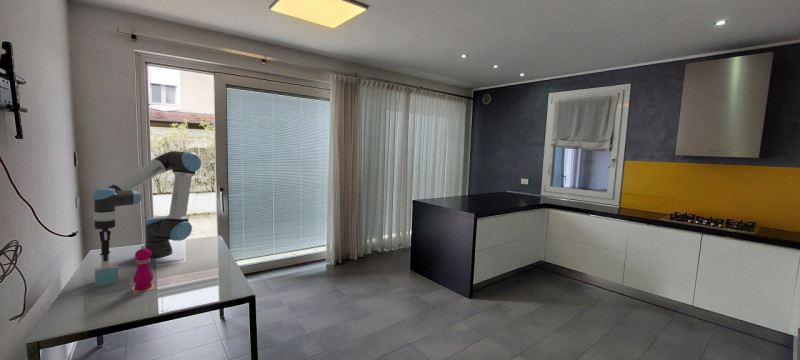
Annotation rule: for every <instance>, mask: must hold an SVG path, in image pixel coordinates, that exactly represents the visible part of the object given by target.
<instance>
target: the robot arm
mask: <svg viewBox="0 0 800 360" xmlns="http://www.w3.org/2000/svg"><path fill="white" fill-rule="evenodd" d="M201 166H202V161H201V158H200V157H199V155H198V154H197V153H195V152H192V151H178V150H177V151H175V150H174V151H173V150H172V151H168V152H165V153H162V154H161V155H159V156H156V157H154V158H153V159H151V161H150V163H148V164H146V165H145V166H143V167H141V168H139V169H138V170H136V171H134V172H132V173H130V174H129V175H127V176H125V177H124V178H121V179H119V180H118V181H117V182H115V183H113V184H111V185H109V186H108V187H105V188H104V187H100V188H96V189H95V190H94V191H93V192H94V193H93V195H92V196H93V197H92V198H93V210H94V213H93V214H92V216H93V219H94V220H95V221H94V229H95V230H101V231H99V232H98V233H99V239H100V243H101V244H100V247H101V250H100V254H99V256H100V257H101V268H106V267H110V253H111V251H110V240H111V235H112V234H111V233H112V232H111V230H109V229H114V228H115V227H116V207H124V206H125V207H126V206H133V205H137V204H139V203H140V202H141V201H142V193H141V192H140V191H138V190H135V189H136V188H138V187H140V186H141V185H143V184H144V183H146V182H148V181H149V180H151V179H153V178H154V177H156V176H157V175H160V174H164V173H166V172H167V171H168V172H169V171H172V174H173V175H174V180H173V187H172V193H171V194H172V195H171V201H170V208H169V214H168V215H167V216H157V217H150V218H148V219H146V220H145V225H144V227H145V229H144V233H145V236H144V238H145V243H144V246H145V247H146V248H145V249H149V250H150V251H151V253H152V254H151V257H150V259H152V258H153V259H157V258H162V257H167V256H169V255H172V254H173V247H172V244H171V243H170V241H174V242H175V241H177V242H178V241H179V242H182V241H184V240H186V239H187V238H188V237H189V236H190V235H191V233H192V230H193V226H192V224H191V223H190V222H189V220H190V219H189V216H188V215H187V213H188V207H189V205H188V204H189V199H190V193H191V185H192V184H191V183H192V178H193V177H194V176H195V175H196V172H197V171H199V170H200V169H201Z"/></svg>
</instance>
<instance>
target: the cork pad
mask: <svg viewBox="0 0 800 360" xmlns="http://www.w3.org/2000/svg"><path fill="white" fill-rule="evenodd" d="M131 288H132V289H131V292H132V294H138V293H143V292H147V291H148V292H149V291H151V290H156V287H155V285H154V282H152V287H151V288H149V289H145V290H135V285H134V286H131Z"/></svg>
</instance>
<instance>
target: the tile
mask: <svg viewBox="0 0 800 360" xmlns="http://www.w3.org/2000/svg"><path fill="white" fill-rule="evenodd" d="M118 280H119V266H118V265H112V266H109V267H105V268H102V267H101V268H95V269H94V284H95V287H99V286H105V285H110V284H116V283H118Z"/></svg>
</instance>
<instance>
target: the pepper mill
mask: <svg viewBox="0 0 800 360" xmlns="http://www.w3.org/2000/svg"><path fill="white" fill-rule="evenodd" d="M145 248H146V247H145V245H142V246H141V247H140V249H138V250H137V251H136V252H135V253H134V259H136V260H135V261H136V264H137V269H136V272H135V273H134V275H133V276H134V277H133V280H132V282H133V283H134V284H135V285H134V286H135V290H145V289H149V288H151V287H152V283H153V282H152V281H153V279H154V275H153V272H152V271H151V269H150V262H151V258H150V257H151V254H152V253H151V251H150V250H149V249H145Z"/></svg>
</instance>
